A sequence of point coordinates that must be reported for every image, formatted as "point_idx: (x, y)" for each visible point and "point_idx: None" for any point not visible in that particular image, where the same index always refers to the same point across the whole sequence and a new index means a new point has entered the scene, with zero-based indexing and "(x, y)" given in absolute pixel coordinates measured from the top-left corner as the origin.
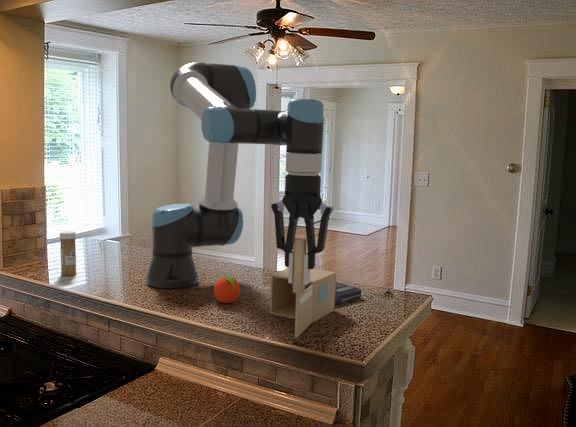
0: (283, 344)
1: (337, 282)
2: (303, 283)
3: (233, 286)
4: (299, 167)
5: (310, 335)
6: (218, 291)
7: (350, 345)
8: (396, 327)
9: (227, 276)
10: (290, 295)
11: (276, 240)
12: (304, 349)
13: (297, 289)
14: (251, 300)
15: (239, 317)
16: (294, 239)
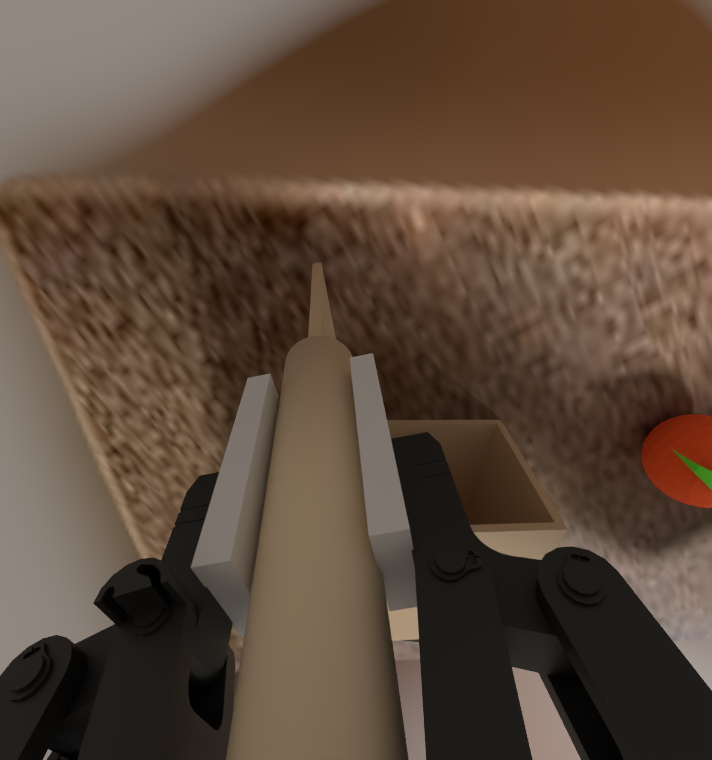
0: (330, 185)
1: (403, 640)
2: (267, 377)
3: (687, 459)
4: None
5: (294, 324)
6: None
7: (130, 315)
8: (128, 503)
9: None
10: (480, 523)
11: (686, 666)
12: (233, 183)
13: (308, 348)
14: (592, 477)
15: (586, 341)
16: None
